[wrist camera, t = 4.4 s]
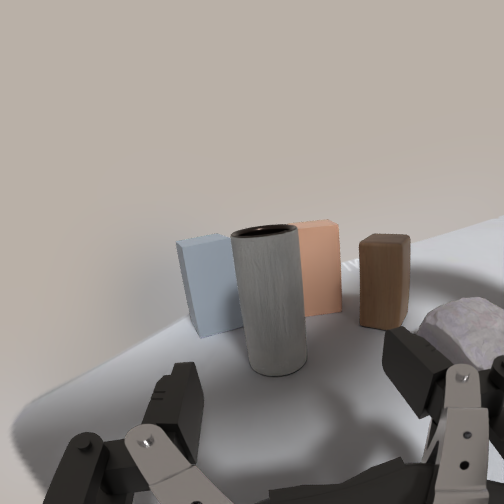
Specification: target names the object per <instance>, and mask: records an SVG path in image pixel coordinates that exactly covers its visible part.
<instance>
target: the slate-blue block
mask: <svg viewBox="0 0 504 504" xmlns="http://www.w3.org/2000/svg"><path fill="white" fill-rule="evenodd" d="M176 246H177V252H178V258H179V263H180V269H181V274H182V279H183V284H184V289H185V294H186V298H187V303H188V307H189V312H190V317H191V321H192V323H193V325H194V327H195V329H196V331H197V333H198V335H199V337H200V338H204V337H208V336H212V335H215V334H219V333H223V332H226V331H230V330H233V329H237V328H240V327H244V326H243V319H242V313H241V306H240V300H239V293H238V287H237V280H236V273H235V267H234V260H233V253H232V246H231V239H230V238H229V237H226V236H223V235H220V234H212V235H206V236H201V237H196V238H191V239H186V240H181V241H176Z"/></svg>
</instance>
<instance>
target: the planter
mask: <svg viewBox="0 0 504 504" xmlns="http://www.w3.org/2000/svg"><path fill="white" fill-rule="evenodd" d="M230 237H231V245H232V252H233V259H234V266H235V273H236V279H237V286H238V293H239V299H240V306H241V312H242V319H243V325H244V332H245V338H246V344H247V350H248V356H249V361H250V365H251V367H252V368H253V370H255V371H256V372H258V373H260V374H263V375H267V376H283V375H287V374H290V373H293V372H295V371H297V370H299V369H300V368H301V367H302V366H303V365H304V364H305V362H306V359H307V345H306V325H305V309H304V294H303V281H302V268H301V256H300V245H299V235H298V228H297V227H296V226H295V225H288V224H287V225H286V224H278V225H266V226H258V227H251V228H246V229H242V230H238V231H236V232H233V233H232V234H231V236H230Z"/></svg>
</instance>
